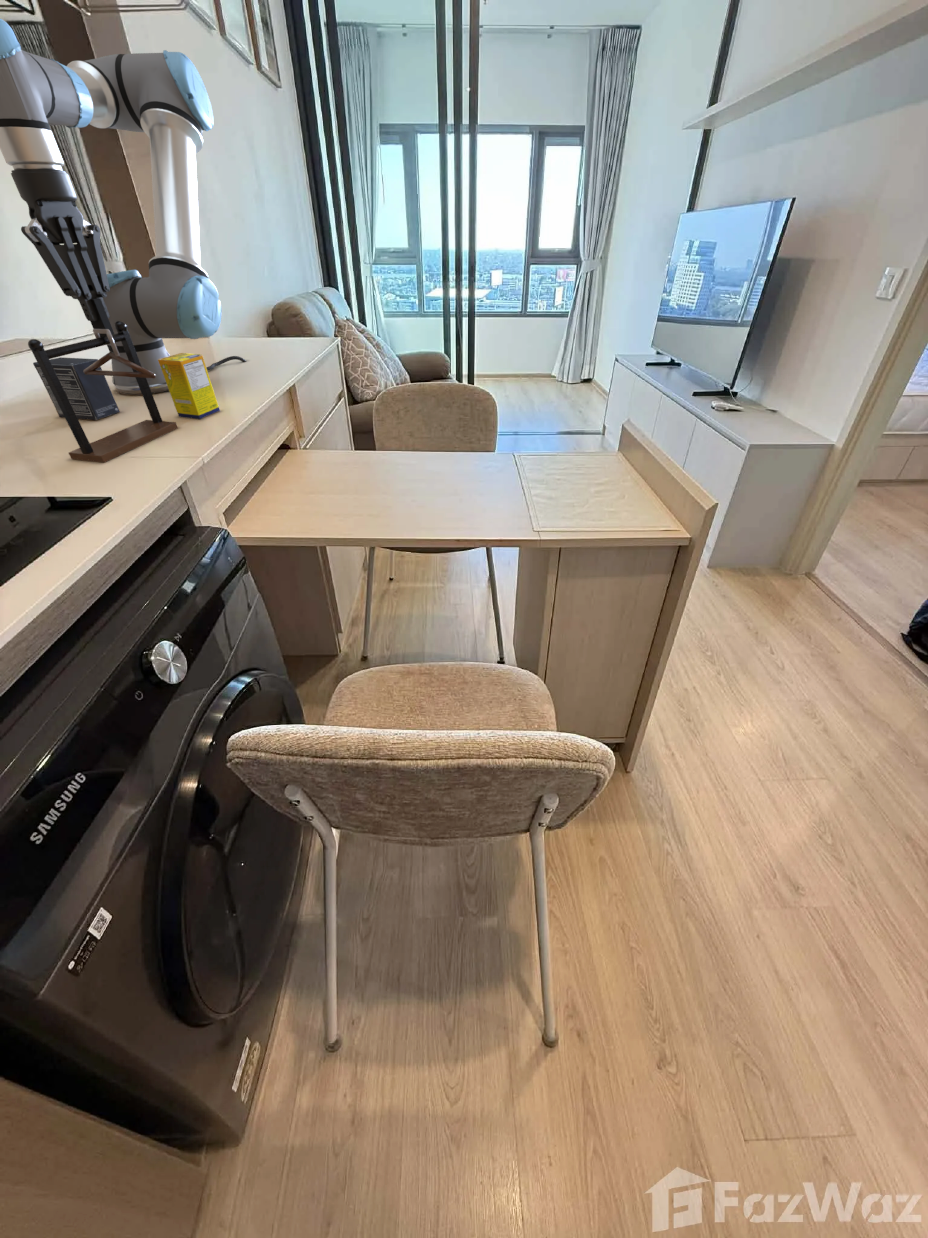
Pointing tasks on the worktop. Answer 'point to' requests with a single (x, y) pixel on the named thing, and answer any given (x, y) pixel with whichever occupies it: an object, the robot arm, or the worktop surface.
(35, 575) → the worktop surface
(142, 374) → the hanger
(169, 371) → the supplement box
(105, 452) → the clothes rail
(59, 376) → the small box
